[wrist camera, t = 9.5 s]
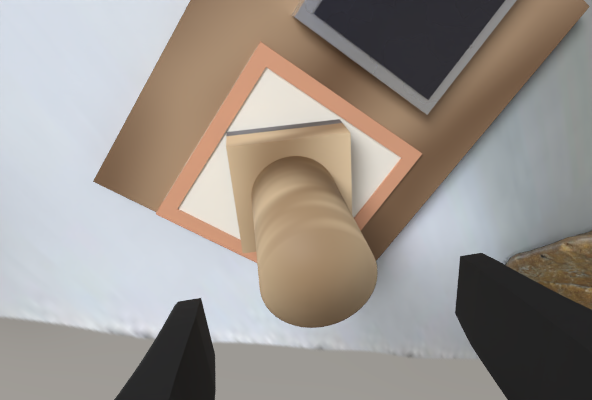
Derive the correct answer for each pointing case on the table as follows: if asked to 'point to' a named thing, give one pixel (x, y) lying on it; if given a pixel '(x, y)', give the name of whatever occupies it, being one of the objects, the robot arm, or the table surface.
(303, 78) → the square coaster
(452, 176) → the table surface
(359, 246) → the stamp
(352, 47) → the ink pad
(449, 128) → the board
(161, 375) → the robot arm
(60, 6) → the table surface
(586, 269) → the fossil
